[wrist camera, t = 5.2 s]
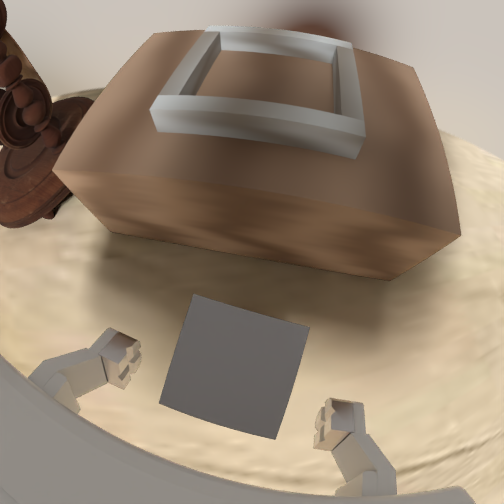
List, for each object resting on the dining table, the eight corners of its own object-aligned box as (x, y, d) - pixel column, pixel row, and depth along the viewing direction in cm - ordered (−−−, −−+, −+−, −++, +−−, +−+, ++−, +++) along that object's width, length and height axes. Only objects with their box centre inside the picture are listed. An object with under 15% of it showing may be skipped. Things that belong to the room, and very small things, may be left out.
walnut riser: (381, 132, 22) (419, 53, 13) (389, 281, 18) (480, 221, 9) (171, 101, 23) (150, 18, 14) (110, 231, 19) (37, 153, 10)
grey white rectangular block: (282, 338, 16) (309, 327, 9) (263, 400, 15) (275, 439, 8) (219, 319, 17) (193, 293, 9) (199, 380, 15) (158, 403, 8)
